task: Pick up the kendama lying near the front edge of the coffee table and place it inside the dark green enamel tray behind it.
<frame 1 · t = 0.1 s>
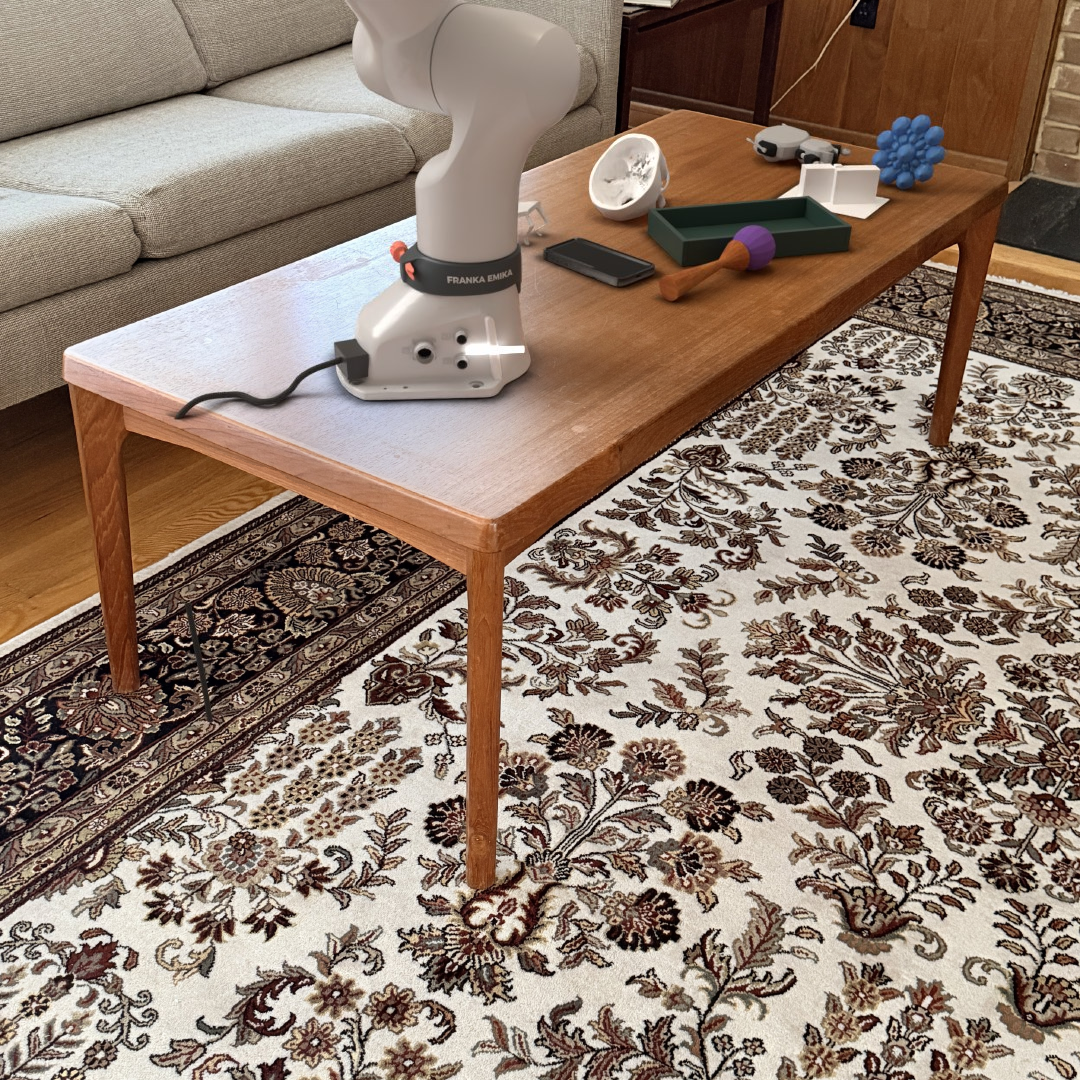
tray: (746, 241, 177), on the table
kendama: (717, 282, 165), on the table
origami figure: (505, 243, 176), on the table
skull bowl: (631, 213, 187), on the table
phone: (597, 266, 169), on the table
napkin holder: (832, 200, 194), on the table
robot toy: (796, 163, 209), on the table
blue beaded flower: (904, 188, 199), on the table
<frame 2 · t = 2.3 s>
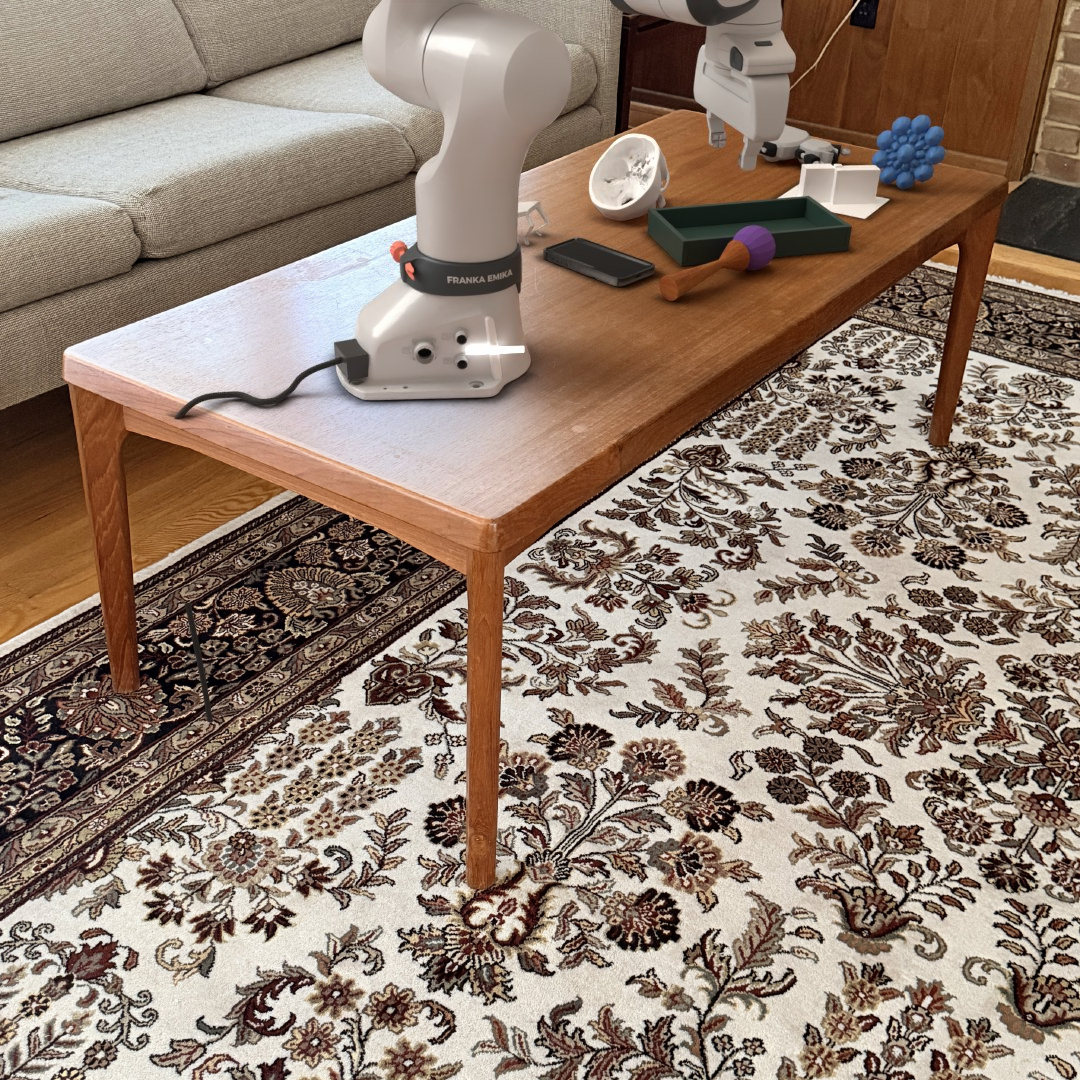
hand: (731, 157, 156), 17 cm above the table, tool pointing down, fingers open, 8 cm apart
nothing on the table moved.
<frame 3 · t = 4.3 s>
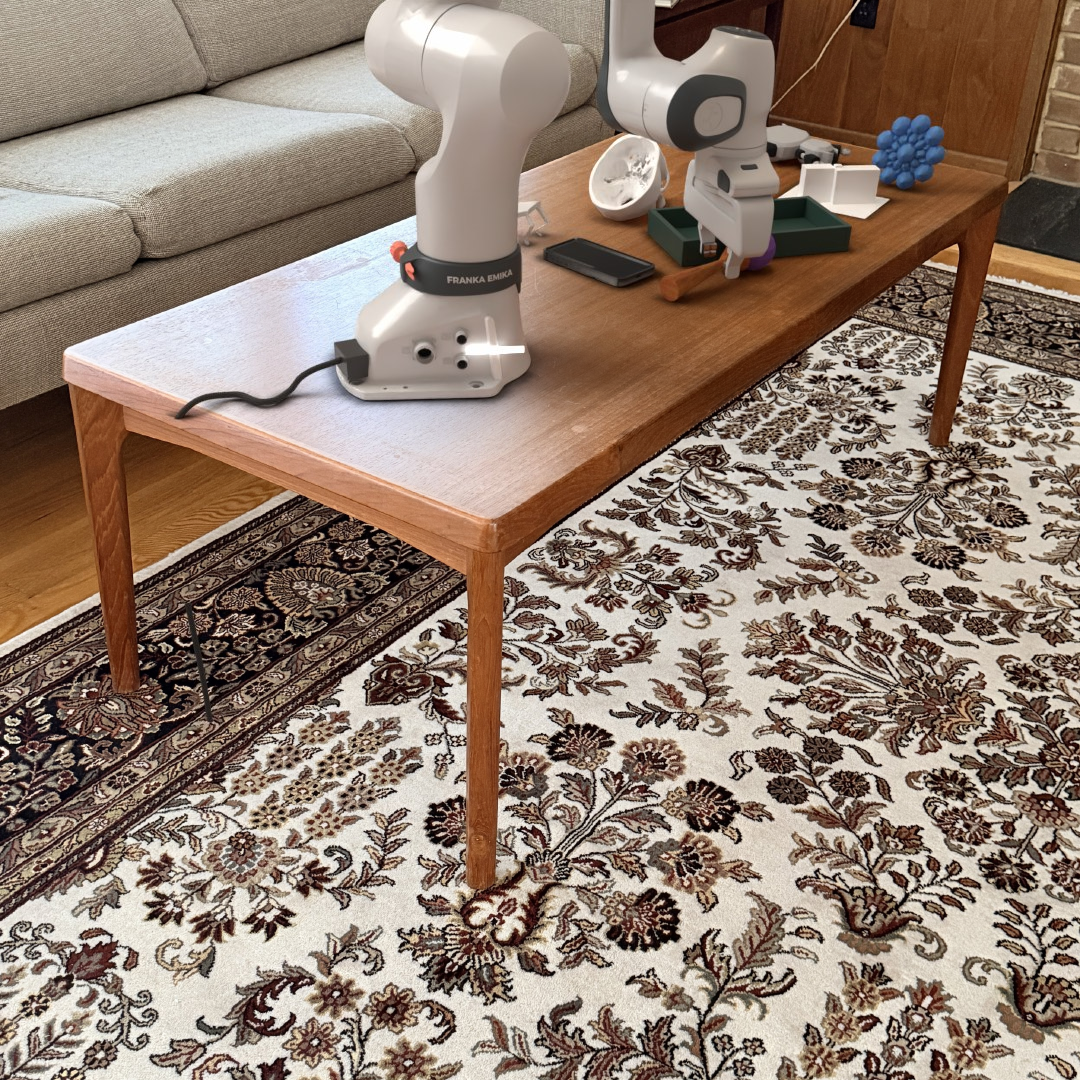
hand: (718, 265, 164), 2 cm above the table, tool pointing down, fingers closed on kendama, 6 cm apart
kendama: (717, 283, 165), on the table, touching gripper
everything else where it was.
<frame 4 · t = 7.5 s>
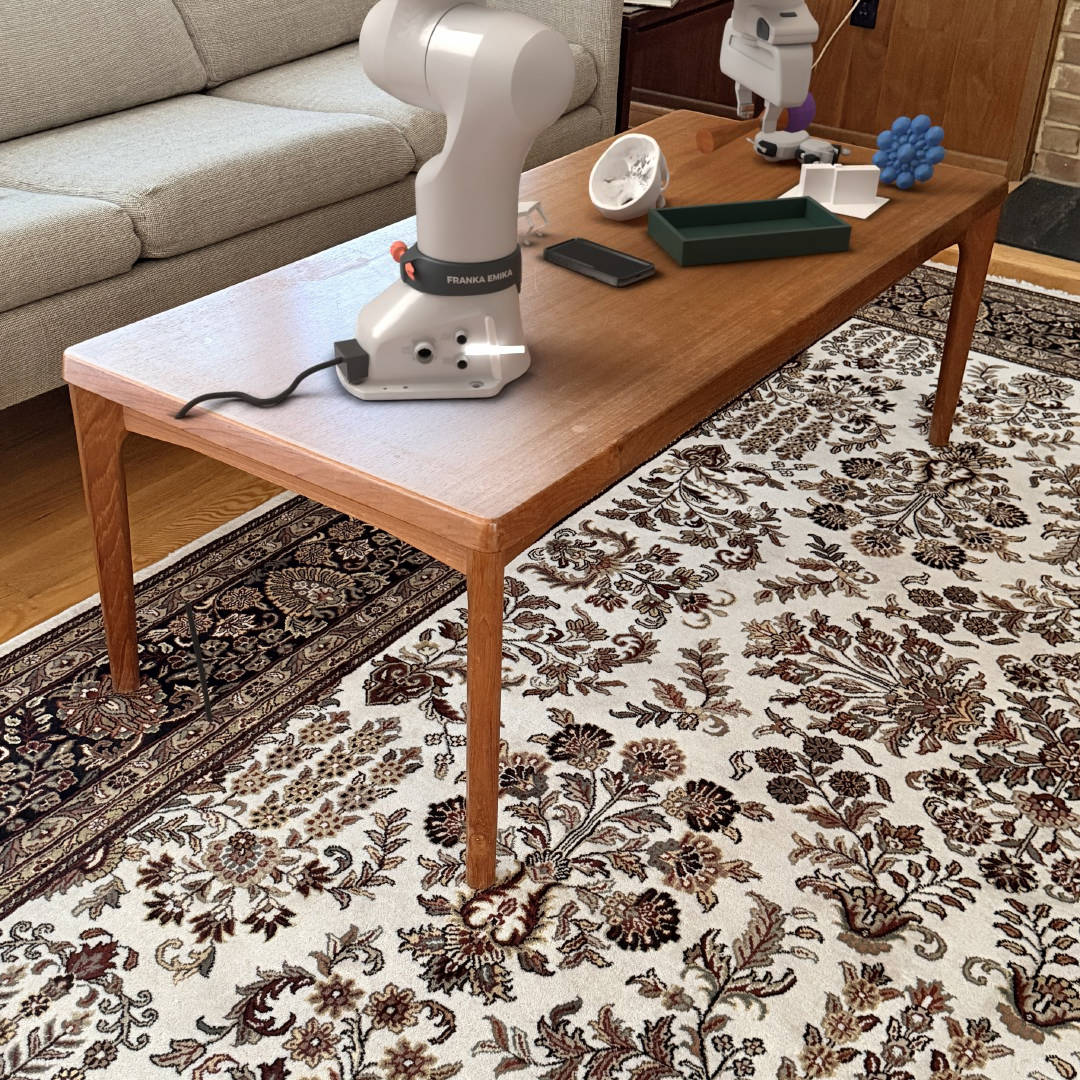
hand: (755, 124, 165), 18 cm above the table, tool pointing down, fingers closed on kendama, 6 cm apart
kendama: (755, 142, 166), point 15 cm above the table, touching gripper
everything else where it was.
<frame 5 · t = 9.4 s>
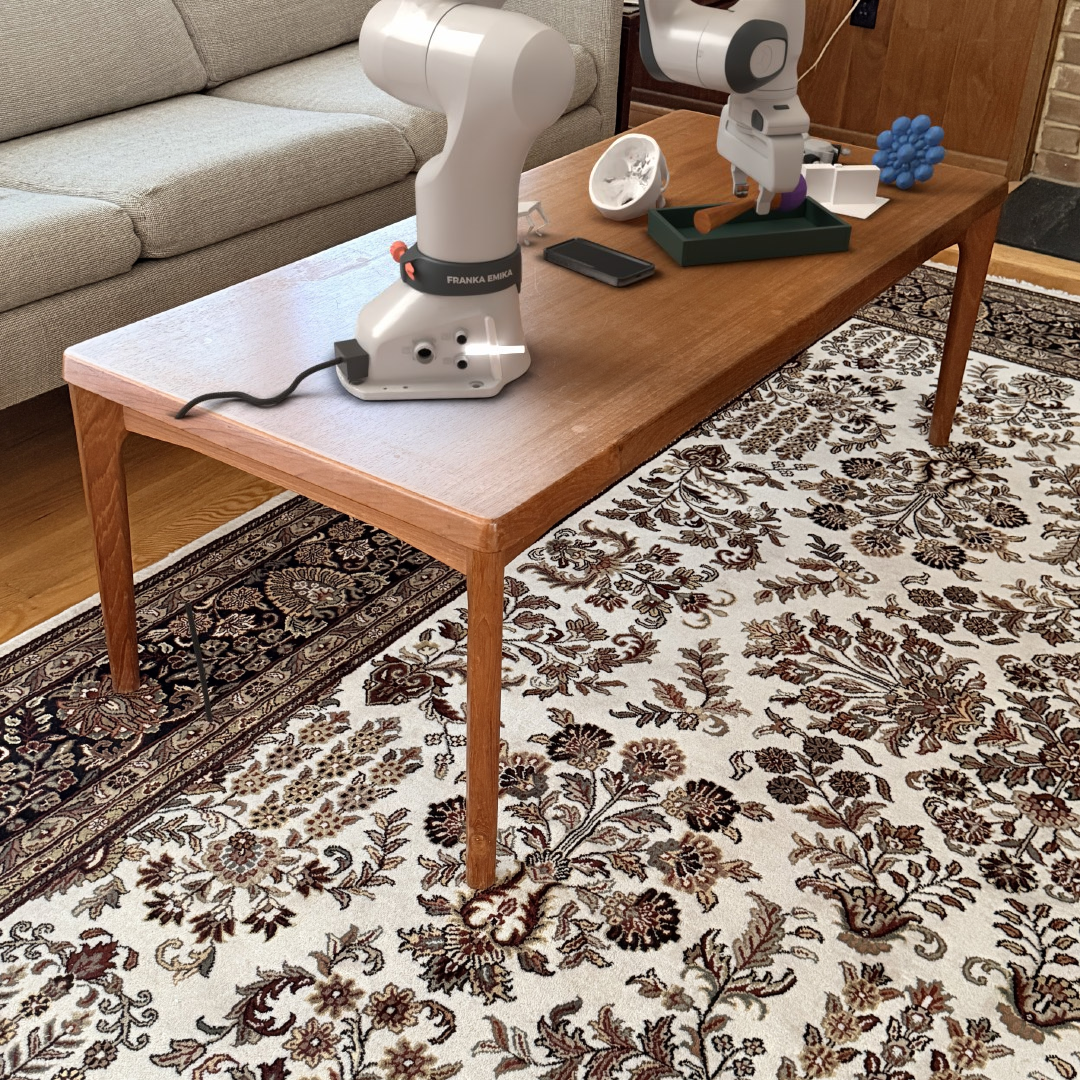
hand: (750, 204, 174), 5 cm above the table, tool pointing down, fingers closed on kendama, 6 cm apart
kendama: (750, 220, 176), point 3 cm above the table, touching gripper
everything else where it was.
when the fingers open (3 cm above the table, at t = 10.8 s): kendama stays where it is, resting on tray.
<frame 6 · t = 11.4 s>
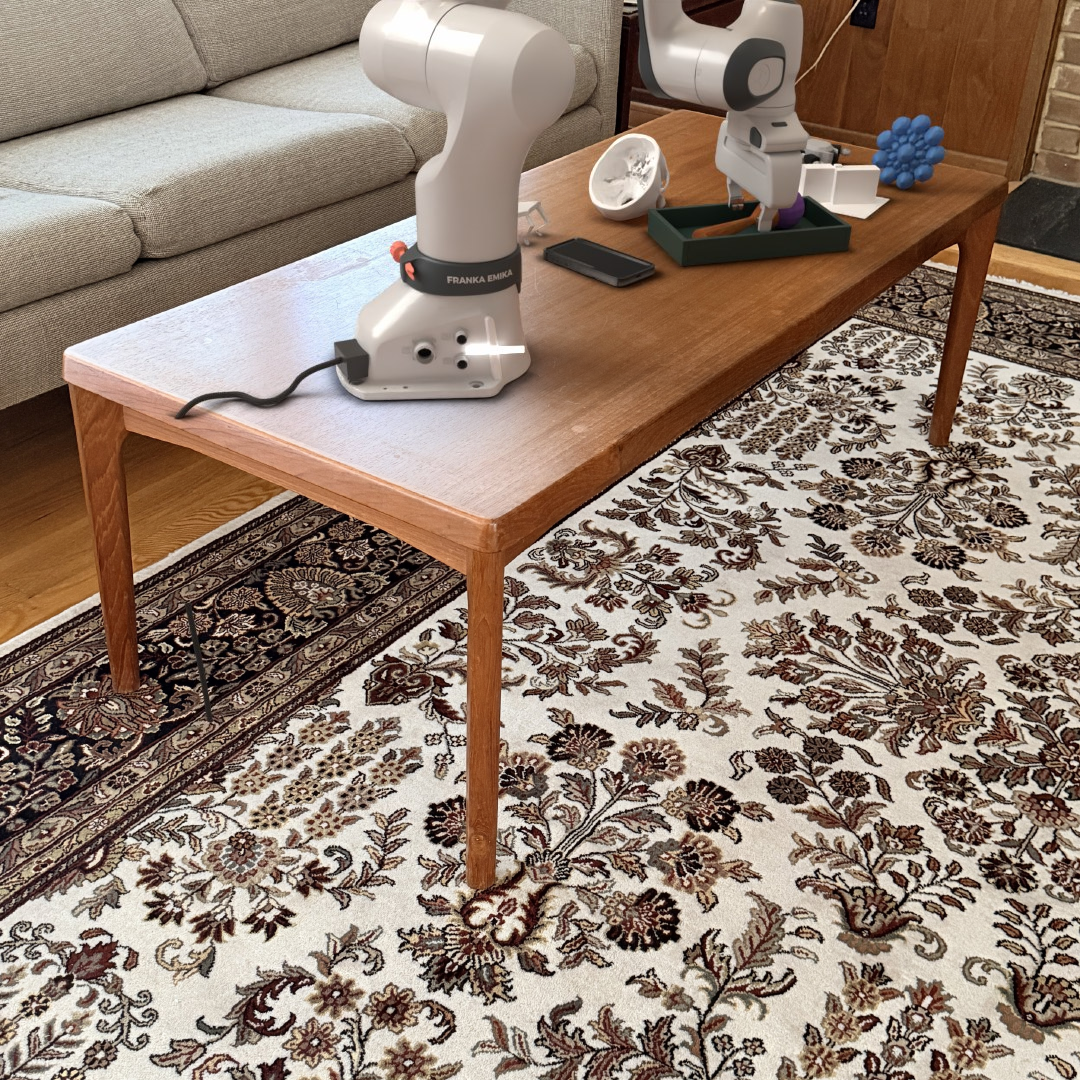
hand: (748, 219, 176), 3 cm above the table, tool pointing down, fingers open, 8 cm apart
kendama: (748, 238, 177), resting on tray
everything else where it was.
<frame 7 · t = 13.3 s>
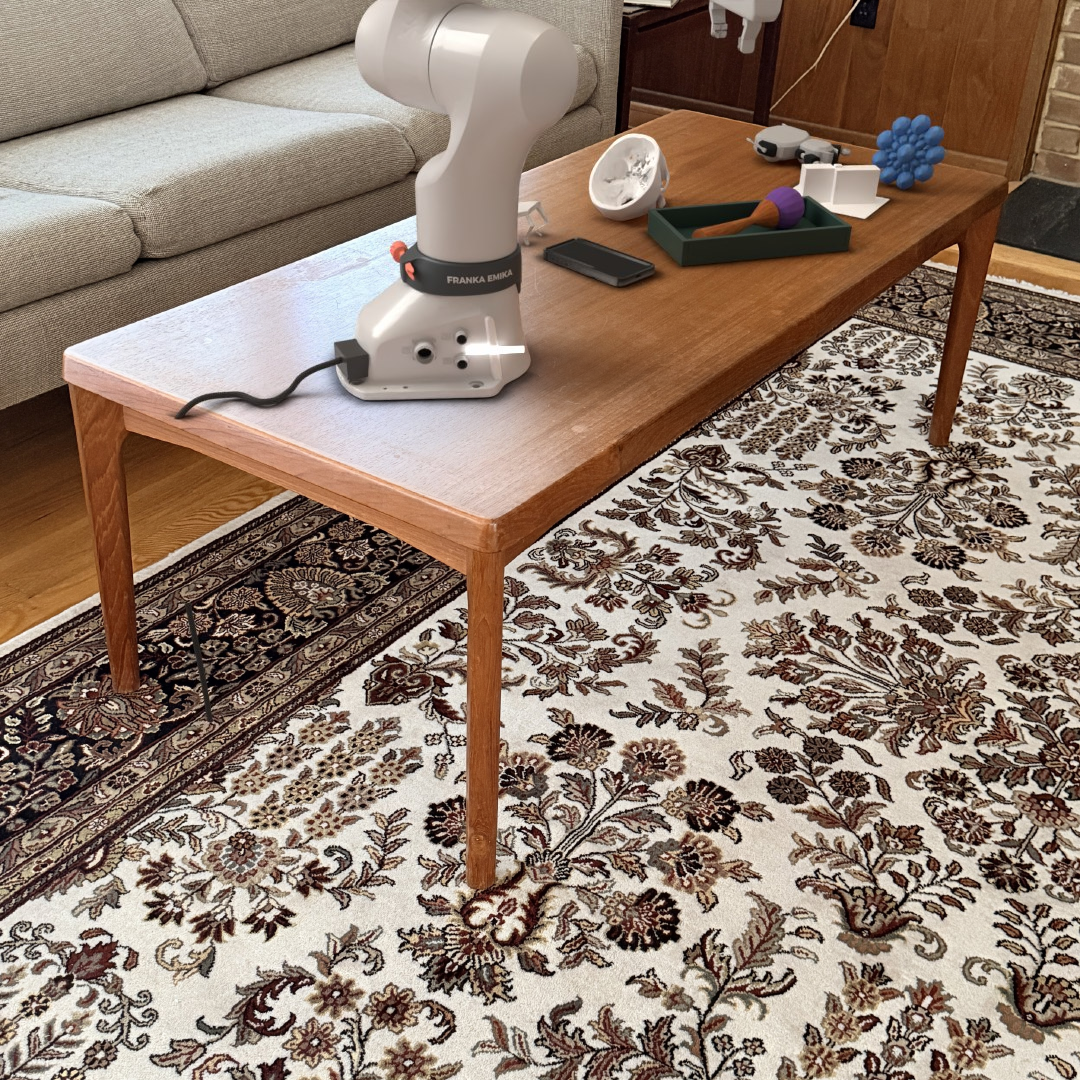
hand: (731, 44, 167), 26 cm above the table, tool pointing down, fingers open, 8 cm apart
nothing on the table moved.
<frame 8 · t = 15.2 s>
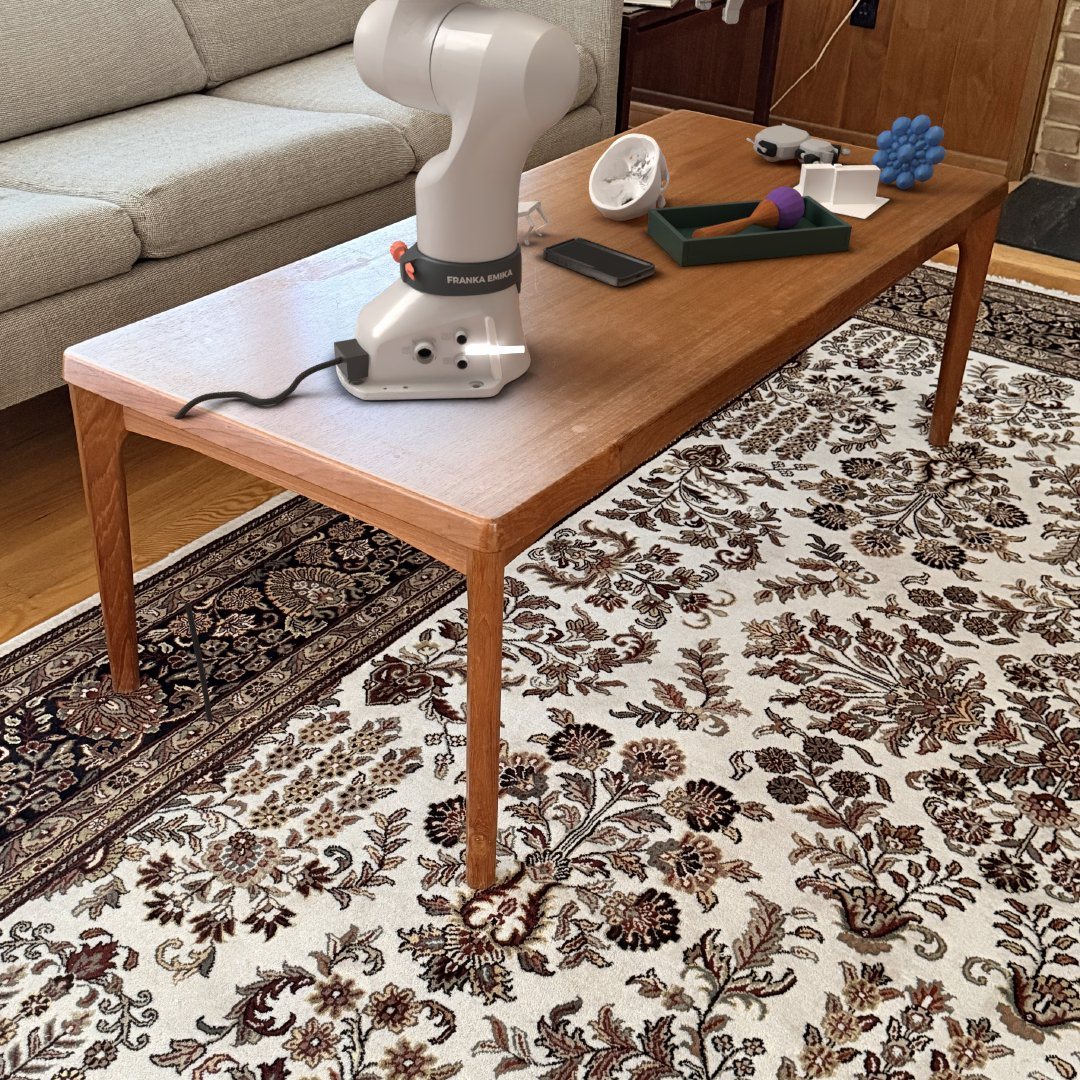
hand: (716, 15, 167), 29 cm above the table, tool pointing down, fingers open, 8 cm apart
nothing on the table moved.
at the end: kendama inside the target area in the tray (0.2 cm from its centre), point 0.4 cm above the tray's base; the gripper is holding nothing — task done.
